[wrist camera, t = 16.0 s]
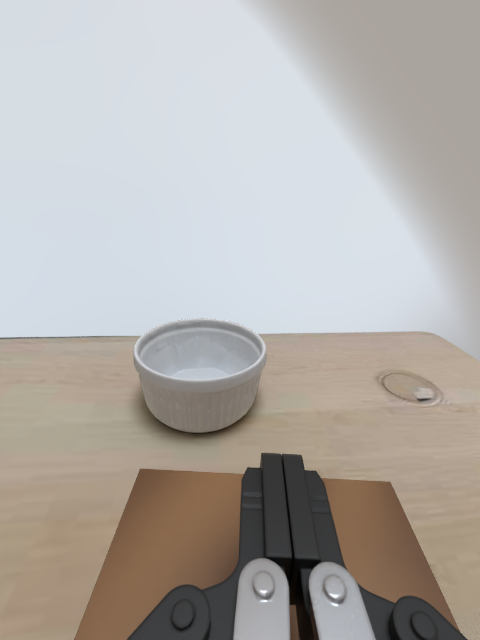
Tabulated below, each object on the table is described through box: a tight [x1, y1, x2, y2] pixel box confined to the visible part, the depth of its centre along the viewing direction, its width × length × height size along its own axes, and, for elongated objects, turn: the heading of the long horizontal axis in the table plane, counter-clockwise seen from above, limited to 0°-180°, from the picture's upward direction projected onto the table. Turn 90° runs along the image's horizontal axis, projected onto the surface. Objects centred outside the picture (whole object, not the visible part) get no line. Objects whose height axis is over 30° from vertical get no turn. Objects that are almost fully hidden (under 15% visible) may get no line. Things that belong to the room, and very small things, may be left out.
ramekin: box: [133, 318, 266, 433], centre depth 33 cm, size 13×13×7 cm
